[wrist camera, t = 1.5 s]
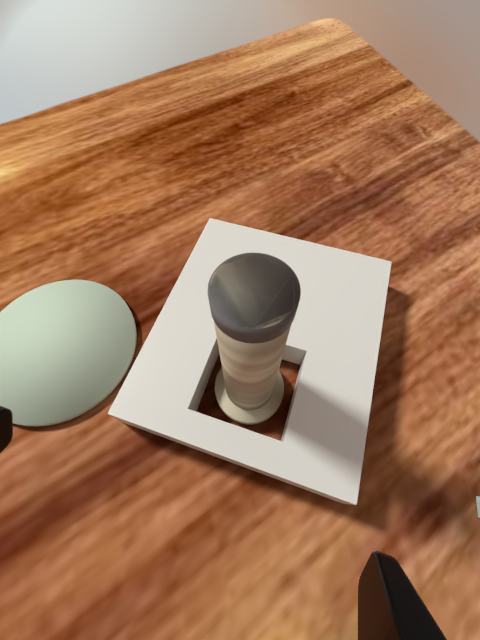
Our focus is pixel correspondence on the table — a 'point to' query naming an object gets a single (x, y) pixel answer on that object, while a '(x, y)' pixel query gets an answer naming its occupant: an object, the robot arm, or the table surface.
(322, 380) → the socket plate
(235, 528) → the table surface
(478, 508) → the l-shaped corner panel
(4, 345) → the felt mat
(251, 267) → the key peg
